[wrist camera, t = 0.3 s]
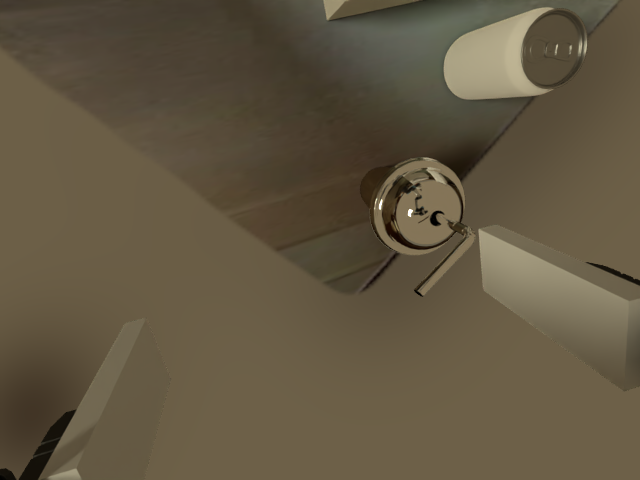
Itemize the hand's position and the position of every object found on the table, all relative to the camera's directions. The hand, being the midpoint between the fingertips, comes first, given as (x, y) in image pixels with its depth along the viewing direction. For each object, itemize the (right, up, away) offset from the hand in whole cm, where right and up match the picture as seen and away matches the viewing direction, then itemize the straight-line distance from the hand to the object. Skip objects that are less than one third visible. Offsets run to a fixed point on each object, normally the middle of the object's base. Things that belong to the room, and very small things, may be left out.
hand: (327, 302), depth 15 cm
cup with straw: (+6, +8, +28) cm, 30 cm away
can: (+15, +20, +26) cm, 37 cm away
